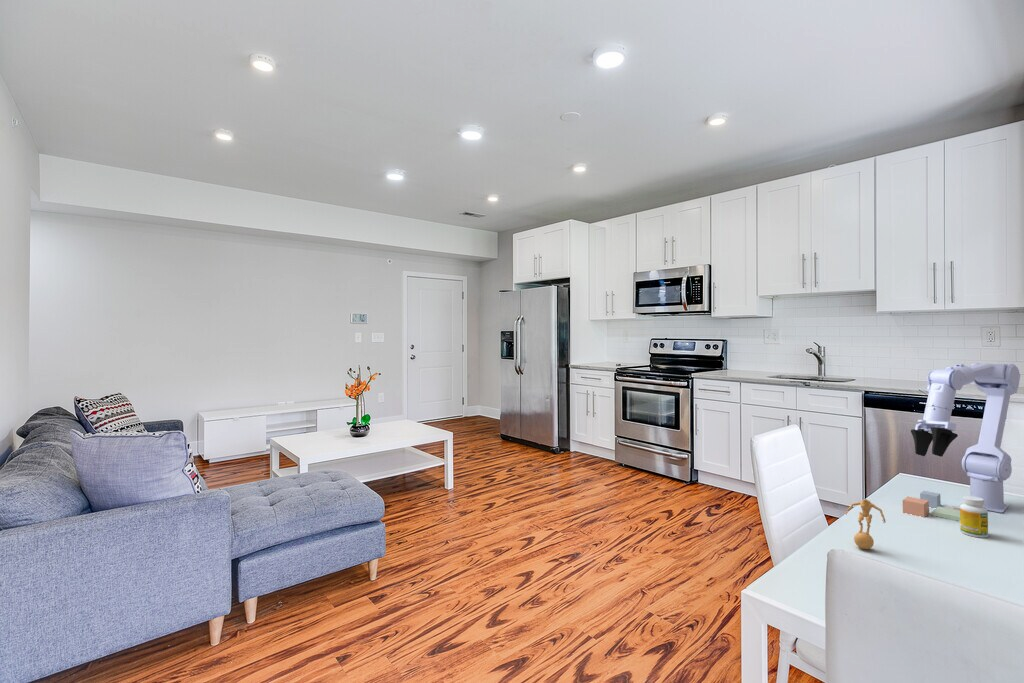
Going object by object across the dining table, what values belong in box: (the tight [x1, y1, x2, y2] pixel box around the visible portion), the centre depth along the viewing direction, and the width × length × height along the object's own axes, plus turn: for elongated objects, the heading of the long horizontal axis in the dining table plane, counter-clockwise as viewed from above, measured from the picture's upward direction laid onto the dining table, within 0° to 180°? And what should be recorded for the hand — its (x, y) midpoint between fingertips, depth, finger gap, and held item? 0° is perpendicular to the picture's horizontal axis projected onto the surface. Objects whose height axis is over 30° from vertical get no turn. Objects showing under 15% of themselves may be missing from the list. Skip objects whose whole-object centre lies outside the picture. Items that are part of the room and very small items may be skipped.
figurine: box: [845, 498, 886, 550], centre depth 122 cm, size 8×6×12 cm
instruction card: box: [944, 505, 960, 510], centre depth 146 cm, size 6×6×1 cm
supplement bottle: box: [959, 495, 989, 539], centre depth 129 cm, size 5×5×10 cm
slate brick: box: [919, 490, 942, 509], centre depth 151 cm, size 4×4×4 cm
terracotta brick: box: [902, 496, 930, 518], centre depth 145 cm, size 5×5×4 cm
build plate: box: [931, 506, 960, 522], centre depth 142 cm, size 7×7×1 cm
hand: (928, 455), depth 138 cm, fingers open, 7 cm apart
